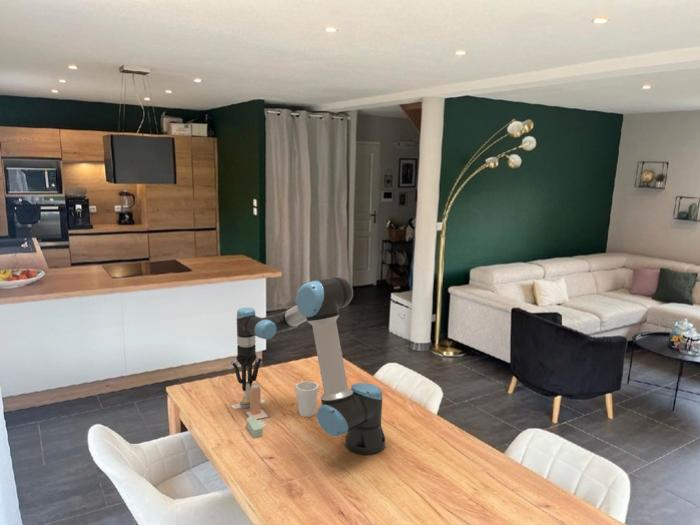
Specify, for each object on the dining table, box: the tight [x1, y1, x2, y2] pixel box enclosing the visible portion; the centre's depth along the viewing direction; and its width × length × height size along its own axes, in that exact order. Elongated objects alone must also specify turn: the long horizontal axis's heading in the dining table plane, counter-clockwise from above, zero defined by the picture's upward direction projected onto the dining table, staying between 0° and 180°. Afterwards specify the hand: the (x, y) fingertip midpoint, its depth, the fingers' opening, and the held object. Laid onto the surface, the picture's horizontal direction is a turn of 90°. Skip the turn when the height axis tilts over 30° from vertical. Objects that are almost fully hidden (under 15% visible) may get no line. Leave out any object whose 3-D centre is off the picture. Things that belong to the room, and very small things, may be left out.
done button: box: [242, 396, 250, 404], centre depth 222 cm, size 4×4×2 cm
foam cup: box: [295, 380, 319, 418], centre depth 216 cm, size 10×9×13 cm
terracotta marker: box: [249, 383, 262, 415], centre depth 216 cm, size 3×3×12 cm
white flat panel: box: [230, 398, 271, 428], centre depth 214 cm, size 28×14×2 cm, turn 29°
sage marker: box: [245, 417, 264, 439], centre depth 201 cm, size 10×3×3 cm, turn 29°
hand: (247, 397), depth 222 cm, fingers closed
